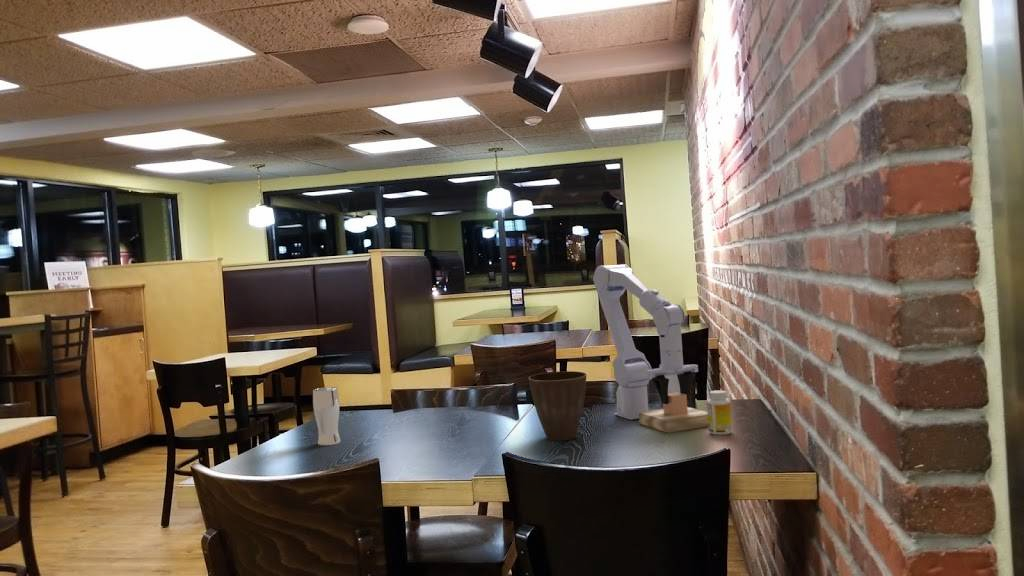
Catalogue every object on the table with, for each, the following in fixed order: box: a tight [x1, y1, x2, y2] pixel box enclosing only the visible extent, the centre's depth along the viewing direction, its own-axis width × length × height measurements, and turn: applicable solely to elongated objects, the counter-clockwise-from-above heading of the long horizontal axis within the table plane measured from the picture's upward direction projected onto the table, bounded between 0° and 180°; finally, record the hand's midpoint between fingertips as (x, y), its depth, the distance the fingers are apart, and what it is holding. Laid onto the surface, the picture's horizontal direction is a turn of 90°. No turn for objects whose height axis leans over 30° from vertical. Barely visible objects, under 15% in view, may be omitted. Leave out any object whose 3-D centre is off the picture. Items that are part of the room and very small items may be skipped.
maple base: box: [638, 406, 709, 434], centre depth 188 cm, size 14×14×3 cm
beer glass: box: [312, 386, 341, 447], centre depth 196 cm, size 7×7×15 cm
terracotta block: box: [662, 392, 688, 415], centre depth 188 cm, size 4×4×5 cm
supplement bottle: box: [706, 389, 733, 436], centre depth 175 cm, size 6×6×10 cm
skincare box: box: [659, 363, 680, 393], centre depth 218 cm, size 6×4×12 cm
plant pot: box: [527, 370, 587, 442], centre depth 183 cm, size 15×15×16 cm
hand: (674, 402), depth 188 cm, fingers open, 5 cm apart
